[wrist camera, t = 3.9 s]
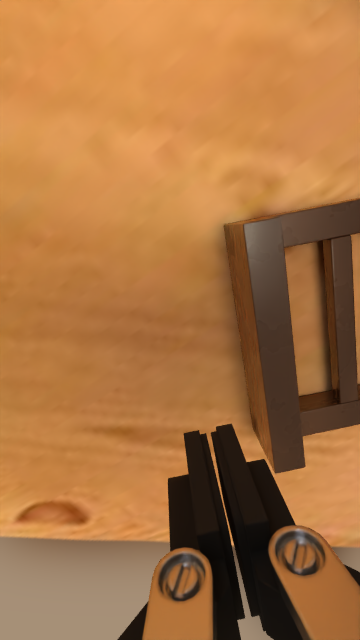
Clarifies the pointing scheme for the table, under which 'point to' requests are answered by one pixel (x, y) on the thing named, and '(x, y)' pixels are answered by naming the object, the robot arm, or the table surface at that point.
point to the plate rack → (276, 330)
